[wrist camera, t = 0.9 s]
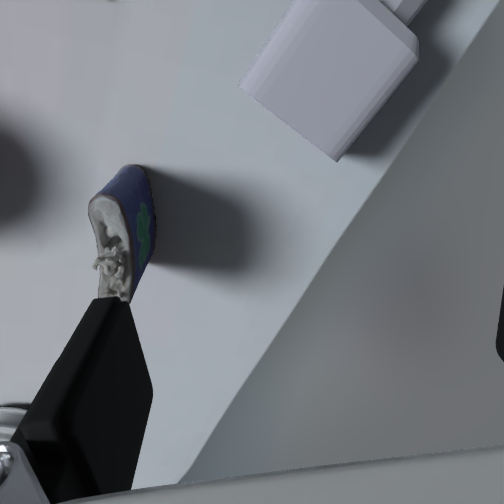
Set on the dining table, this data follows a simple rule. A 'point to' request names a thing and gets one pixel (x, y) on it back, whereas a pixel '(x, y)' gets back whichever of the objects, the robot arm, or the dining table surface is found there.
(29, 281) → the dining table surface
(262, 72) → the charger
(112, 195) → the dark blue piece
